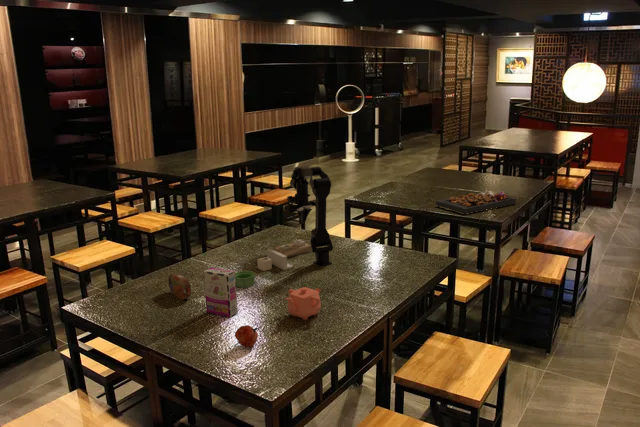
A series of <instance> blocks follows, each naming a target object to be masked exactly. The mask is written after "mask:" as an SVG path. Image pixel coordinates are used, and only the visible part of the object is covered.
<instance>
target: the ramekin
mask: <svg viewBox="0 0 640 427" xmlns="http://www.w3.org/2000/svg"><path fill="white" fill-rule="evenodd" d="M235 278H236V288H237V287H238V288H244V289H245V288H249V287H252V286H254V285H255V278H256V273H255V272H254V271H250V270H242V271H236V272H235Z"/></svg>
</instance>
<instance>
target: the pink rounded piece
mask: <svg viewBox="0 0 640 427" xmlns="http://www.w3.org/2000/svg"><path fill="white" fill-rule="evenodd" d="M321 291H322V290H321V289H320V288H318V287H316V288H315V289H312V288H310V287H305V286H304V287H300V288H297V289H296V290H295V289H292V288H291V289H289V290H288V294H289V295H288V297H286V300H287V311H288V313H289V315H290V314H291V315H292V317H297V318H301V319H302V320H303V321H308V319H309V317H311V316H317V315H318V312H319V311H320V310H321V307H322V306H321V303H322V302H321V297H320V294H321Z"/></svg>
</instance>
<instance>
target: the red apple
mask: <svg viewBox="0 0 640 427" xmlns="http://www.w3.org/2000/svg"><path fill="white" fill-rule="evenodd" d="M259 329H260V328H258V327H255V328H253V326H251V325H247V324H245V325H241V326H240V327H238V328H237V329H236V331H235V333H234V338H235V339H236V341H237V343H236V344H234V345H233V346H234V347H236V345H238V344H239V345H241V346H242V347H243V348H244V349H250V348H252V347H253V346H255V345H256V343H257V340H258V337H259V335H258V332H257V330H259Z"/></svg>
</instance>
